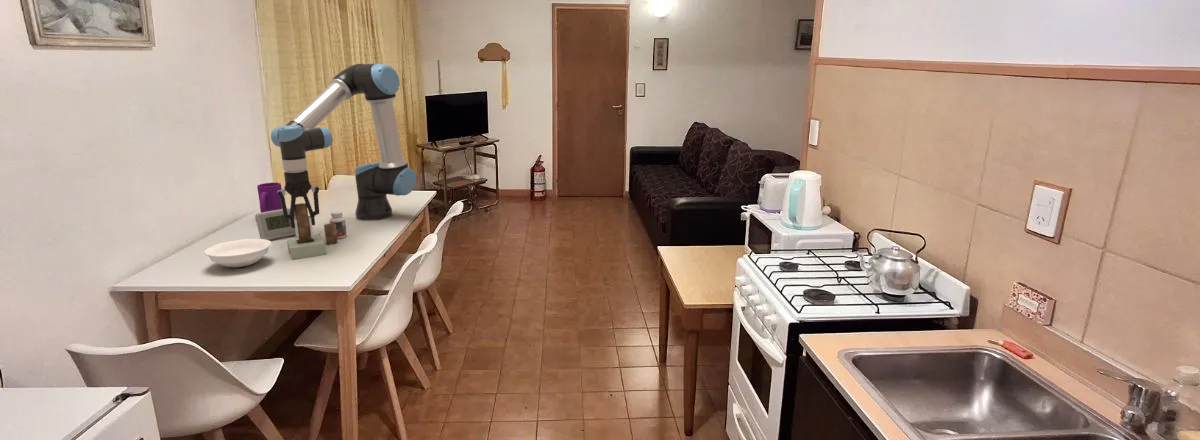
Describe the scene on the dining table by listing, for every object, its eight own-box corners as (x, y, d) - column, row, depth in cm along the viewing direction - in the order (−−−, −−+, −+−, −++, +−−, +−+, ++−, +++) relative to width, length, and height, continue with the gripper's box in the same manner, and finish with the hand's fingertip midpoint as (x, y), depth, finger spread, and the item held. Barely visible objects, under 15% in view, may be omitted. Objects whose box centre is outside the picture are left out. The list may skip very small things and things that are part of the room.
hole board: (320, 244, 237) (319, 234, 236) (326, 254, 225) (324, 243, 224) (288, 249, 232) (286, 238, 231) (291, 259, 220) (290, 248, 219)
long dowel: (311, 243, 231) (305, 202, 227) (312, 245, 227) (307, 205, 223) (299, 244, 229) (293, 204, 225) (300, 247, 225) (294, 206, 221)
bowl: (203, 278, 203) (199, 259, 201) (211, 260, 220) (208, 242, 219) (272, 269, 210) (269, 251, 209) (275, 252, 228) (273, 235, 226)
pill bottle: (329, 239, 244) (326, 214, 241) (334, 235, 249) (331, 210, 247) (344, 238, 244) (341, 214, 242) (348, 234, 249) (346, 210, 247)
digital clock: (259, 243, 240) (255, 215, 237) (258, 237, 248) (253, 210, 245) (306, 236, 248) (302, 209, 245) (303, 231, 255) (300, 205, 253)
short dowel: (336, 240, 242) (334, 222, 240) (338, 243, 238) (336, 225, 237) (325, 242, 240) (323, 224, 238) (327, 244, 236) (324, 226, 235)
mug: (288, 215, 280) (284, 182, 276) (276, 224, 265) (271, 189, 262) (266, 216, 279) (261, 182, 275) (253, 225, 264) (247, 190, 260)
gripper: (320, 166, 228) (328, 229, 234) (267, 171, 220) (277, 236, 226) (323, 169, 222) (331, 234, 228) (269, 175, 214) (279, 241, 220)
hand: (304, 235), depth 227 cm, fingers closed on long dowel, 4 cm apart
